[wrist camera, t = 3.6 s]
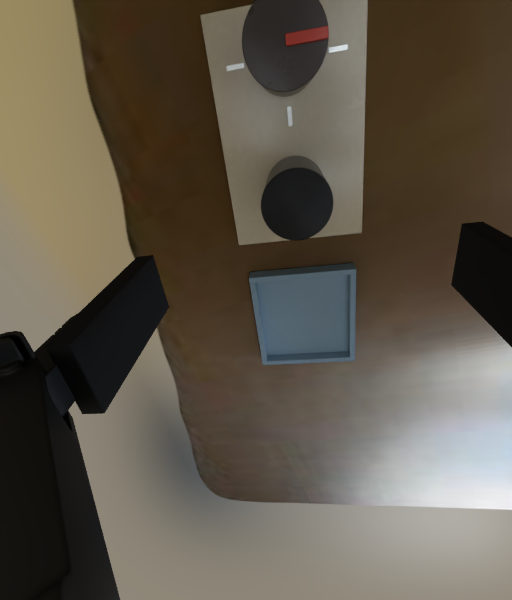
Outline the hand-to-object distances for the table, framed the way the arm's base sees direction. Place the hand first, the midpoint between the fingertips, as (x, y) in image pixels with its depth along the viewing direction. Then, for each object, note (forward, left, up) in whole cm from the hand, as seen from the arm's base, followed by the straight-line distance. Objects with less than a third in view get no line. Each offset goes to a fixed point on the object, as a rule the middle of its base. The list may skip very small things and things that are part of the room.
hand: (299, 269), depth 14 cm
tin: (0, 0, -18) cm, 18 cm away
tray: (+15, 0, -20) cm, 25 cm away
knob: (-10, 0, -18) cm, 20 cm away
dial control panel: (-4, 0, -20) cm, 20 cm away
